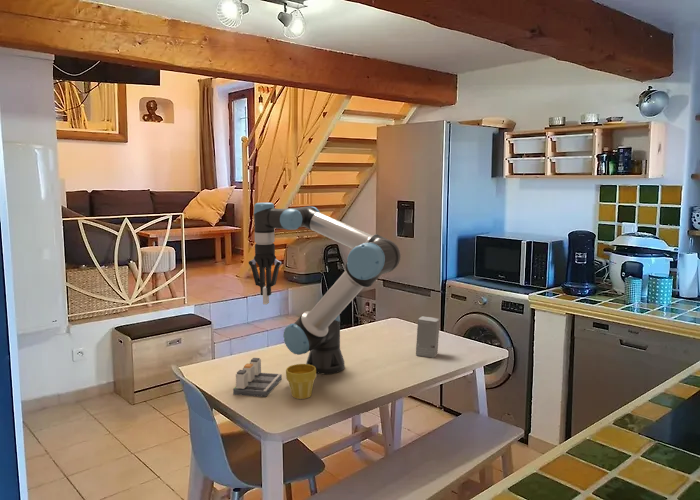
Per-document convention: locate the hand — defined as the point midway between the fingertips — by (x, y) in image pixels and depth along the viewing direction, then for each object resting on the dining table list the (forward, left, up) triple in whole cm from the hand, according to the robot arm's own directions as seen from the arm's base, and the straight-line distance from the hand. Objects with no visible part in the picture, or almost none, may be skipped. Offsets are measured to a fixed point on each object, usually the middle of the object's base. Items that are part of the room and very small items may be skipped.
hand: (266, 303), depth 216 cm
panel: (-3, +18, -26) cm, 32 cm away
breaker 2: (+1, +18, -24) cm, 30 cm away
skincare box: (-61, -30, -27) cm, 73 cm away
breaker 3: (+1, +12, -24) cm, 27 cm away
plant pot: (-21, +23, -27) cm, 41 cm away
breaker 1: (+1, +24, -24) cm, 34 cm away
